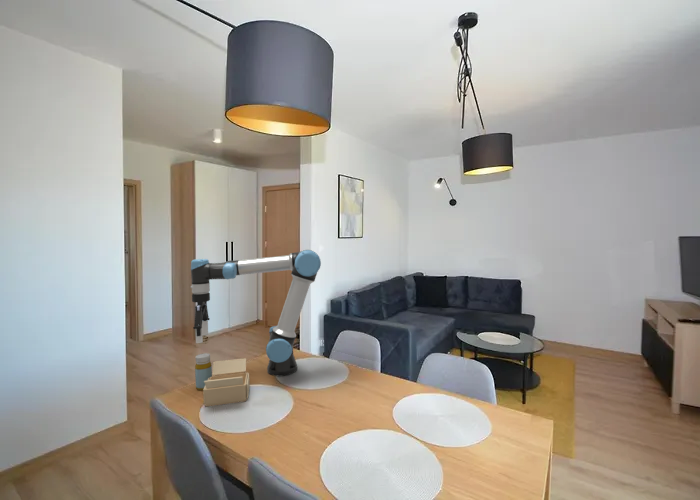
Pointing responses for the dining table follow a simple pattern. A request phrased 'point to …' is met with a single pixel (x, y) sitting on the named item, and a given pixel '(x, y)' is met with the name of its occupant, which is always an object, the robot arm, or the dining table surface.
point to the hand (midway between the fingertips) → (202, 338)
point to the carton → (227, 391)
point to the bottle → (202, 370)
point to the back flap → (229, 366)
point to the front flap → (223, 382)
